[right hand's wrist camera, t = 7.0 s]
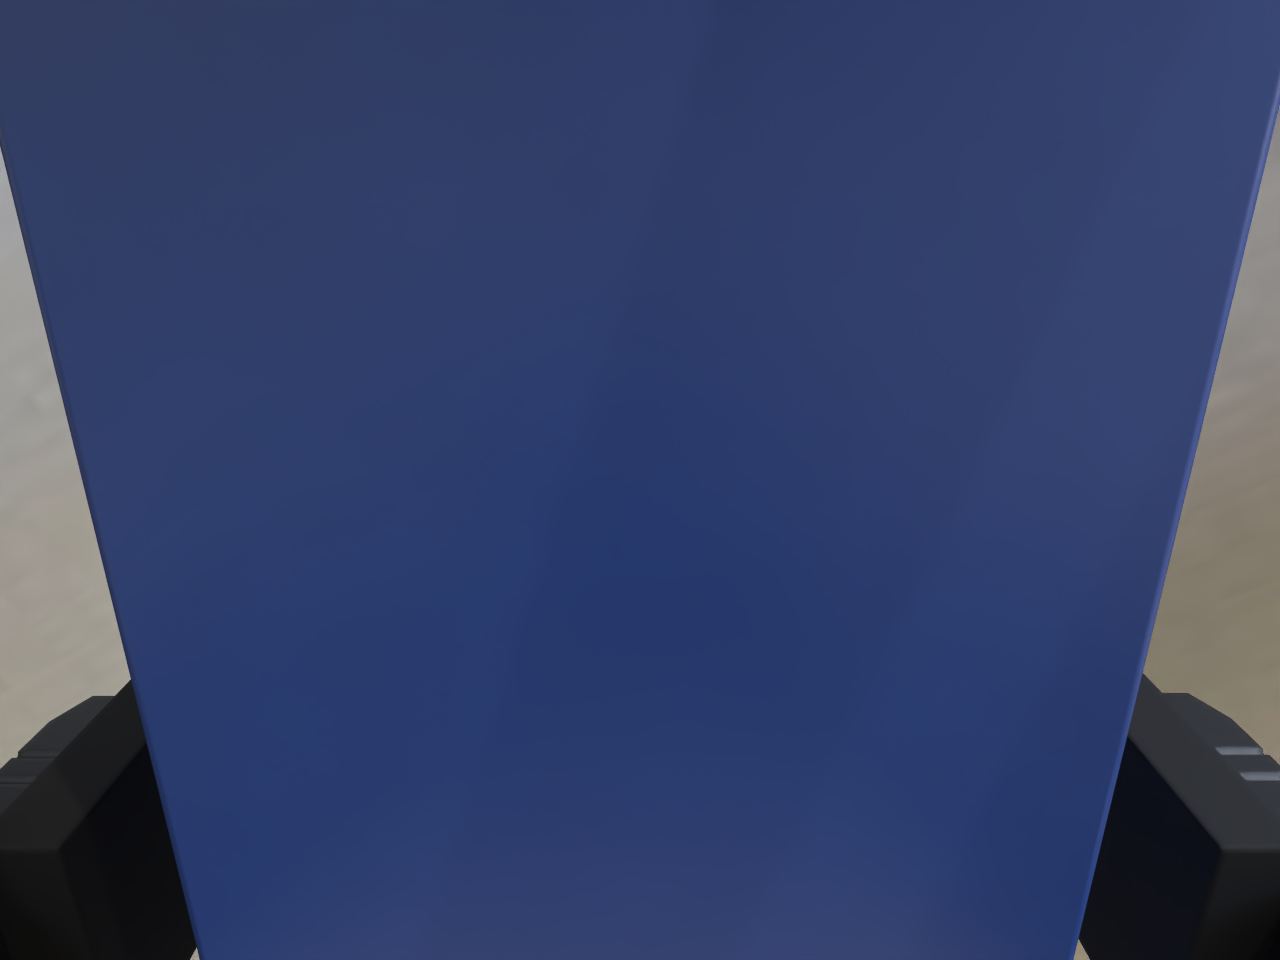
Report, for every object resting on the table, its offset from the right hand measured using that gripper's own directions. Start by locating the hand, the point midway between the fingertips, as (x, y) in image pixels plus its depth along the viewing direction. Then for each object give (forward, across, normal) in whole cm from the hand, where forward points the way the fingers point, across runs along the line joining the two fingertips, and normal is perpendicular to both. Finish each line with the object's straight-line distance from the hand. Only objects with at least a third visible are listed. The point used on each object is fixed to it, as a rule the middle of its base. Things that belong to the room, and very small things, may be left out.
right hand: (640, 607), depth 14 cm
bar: (+1, 0, -7) cm, 7 cm away
